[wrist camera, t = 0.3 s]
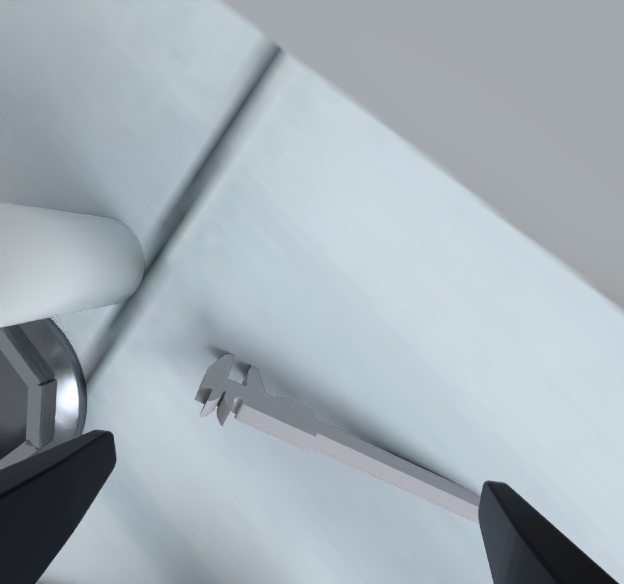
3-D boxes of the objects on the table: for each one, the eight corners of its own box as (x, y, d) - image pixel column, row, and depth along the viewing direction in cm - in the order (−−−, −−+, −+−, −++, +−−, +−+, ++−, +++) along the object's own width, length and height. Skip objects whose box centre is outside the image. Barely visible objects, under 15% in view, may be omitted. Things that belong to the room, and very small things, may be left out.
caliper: (223, 363, 23) (174, 403, 17) (230, 350, 23) (183, 386, 17) (492, 518, 22) (545, 624, 16) (501, 505, 22) (559, 607, 15)
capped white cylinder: (143, 314, 23) (-124, 390, 10) (59, 299, 24) (-287, 351, 11) (151, 221, 22) (-128, 177, 9) (64, 207, 23) (-305, 149, 10)
